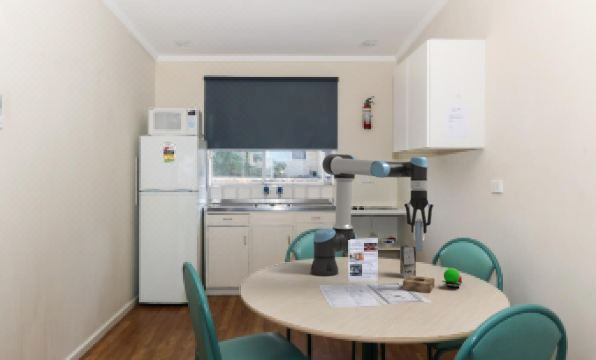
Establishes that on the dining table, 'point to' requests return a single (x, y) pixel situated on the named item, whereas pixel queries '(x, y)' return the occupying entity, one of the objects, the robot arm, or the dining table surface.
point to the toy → (452, 278)
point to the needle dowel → (418, 236)
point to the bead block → (418, 284)
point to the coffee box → (407, 260)
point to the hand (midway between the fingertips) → (418, 239)
